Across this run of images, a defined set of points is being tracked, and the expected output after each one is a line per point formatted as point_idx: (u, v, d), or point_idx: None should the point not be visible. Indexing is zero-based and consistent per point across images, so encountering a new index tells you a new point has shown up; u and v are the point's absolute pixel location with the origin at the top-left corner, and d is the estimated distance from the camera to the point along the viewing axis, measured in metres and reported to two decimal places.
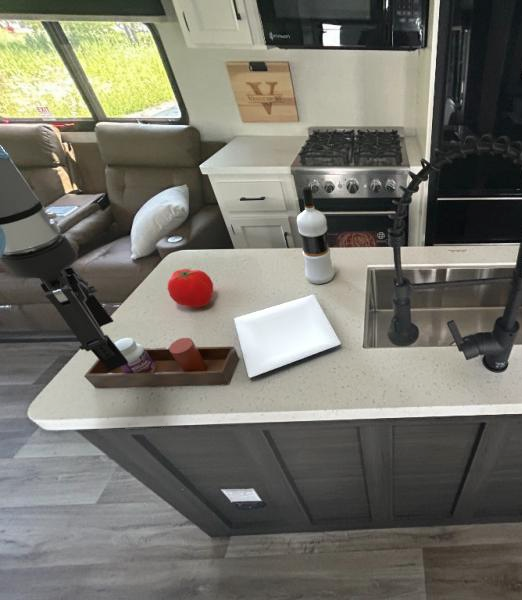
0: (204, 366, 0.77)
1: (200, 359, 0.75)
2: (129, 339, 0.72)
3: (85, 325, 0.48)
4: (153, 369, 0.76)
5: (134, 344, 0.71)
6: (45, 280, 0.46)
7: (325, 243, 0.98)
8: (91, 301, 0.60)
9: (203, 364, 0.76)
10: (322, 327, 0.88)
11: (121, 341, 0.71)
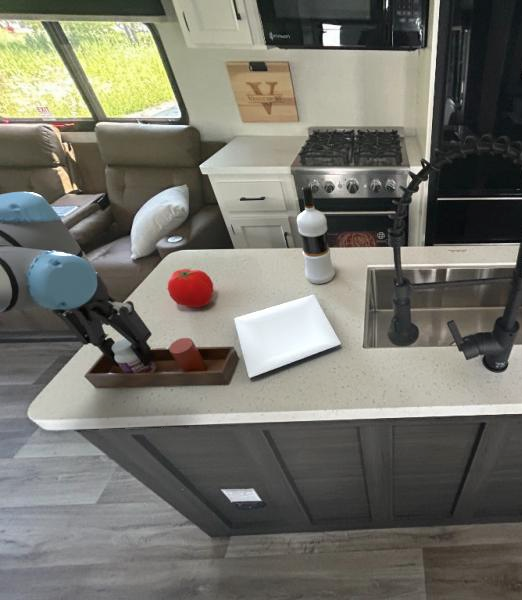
0: (204, 366, 0.77)
1: (200, 359, 0.75)
2: None
3: (141, 325, 0.68)
4: (153, 369, 0.76)
5: None
6: (104, 300, 0.62)
7: (325, 243, 0.98)
8: (111, 343, 0.71)
9: (203, 364, 0.76)
10: (322, 327, 0.88)
11: (121, 341, 0.71)
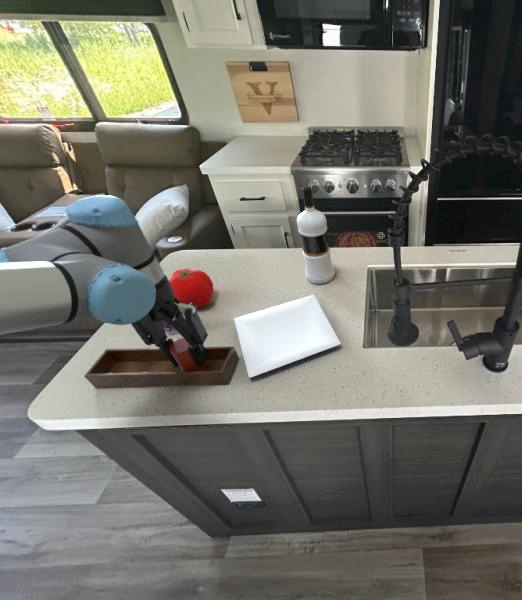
0: (204, 366, 0.77)
1: None
2: None
3: (201, 326, 0.69)
4: None
5: None
6: (171, 301, 0.63)
7: (325, 243, 0.98)
8: None
9: (203, 364, 0.76)
10: (322, 327, 0.88)
11: None
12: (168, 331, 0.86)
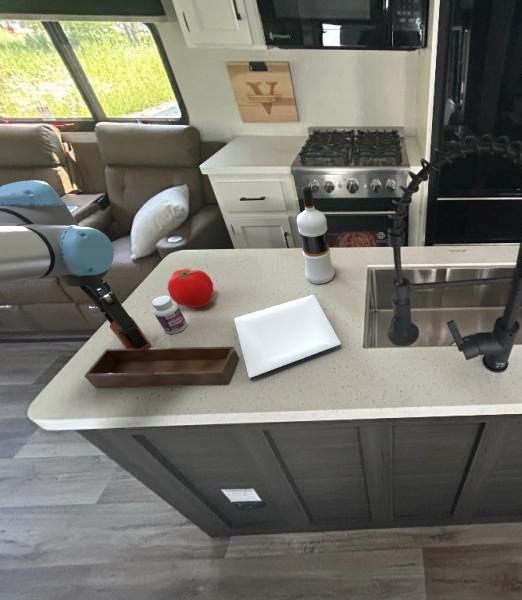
0: None
1: None
2: (166, 296, 0.83)
3: (124, 316, 0.70)
4: (185, 325, 0.88)
5: (170, 301, 0.83)
6: (91, 286, 0.66)
7: (325, 243, 0.98)
8: None
9: None
10: (322, 327, 0.88)
11: (159, 298, 0.83)
12: (168, 331, 0.86)
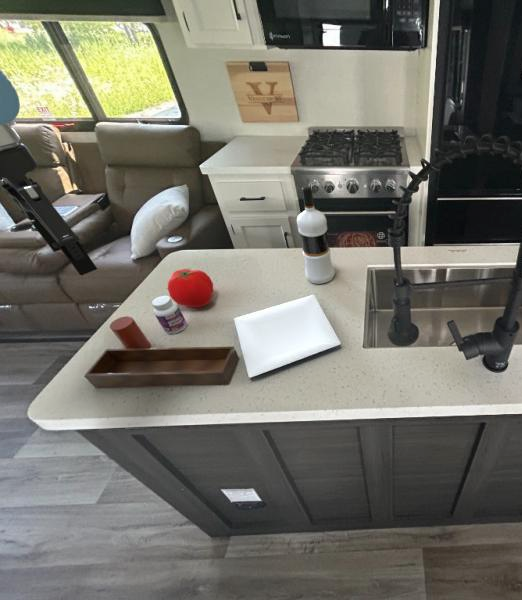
0: None
1: (137, 341, 0.79)
2: (166, 296, 0.83)
3: (57, 221, 0.55)
4: (185, 325, 0.88)
5: (170, 301, 0.83)
6: (13, 180, 0.52)
7: (325, 243, 0.98)
8: None
9: (141, 346, 0.80)
10: (322, 327, 0.88)
11: (159, 298, 0.83)
12: (168, 331, 0.86)
